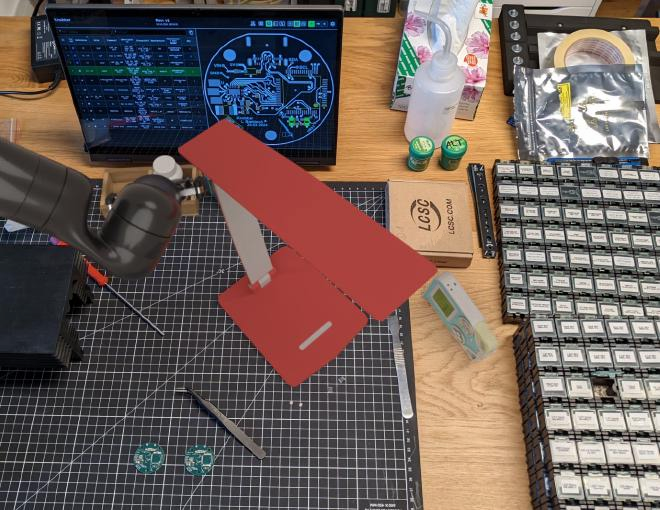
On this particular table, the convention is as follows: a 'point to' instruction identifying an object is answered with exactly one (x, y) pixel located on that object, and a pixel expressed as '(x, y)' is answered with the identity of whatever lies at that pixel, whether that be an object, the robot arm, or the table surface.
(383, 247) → the desk lamp
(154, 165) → the pill bottle
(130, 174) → the wooden box
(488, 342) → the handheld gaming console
